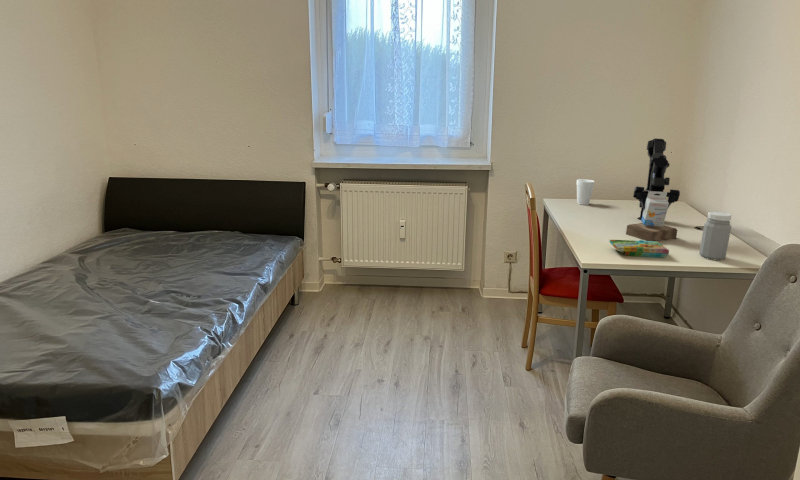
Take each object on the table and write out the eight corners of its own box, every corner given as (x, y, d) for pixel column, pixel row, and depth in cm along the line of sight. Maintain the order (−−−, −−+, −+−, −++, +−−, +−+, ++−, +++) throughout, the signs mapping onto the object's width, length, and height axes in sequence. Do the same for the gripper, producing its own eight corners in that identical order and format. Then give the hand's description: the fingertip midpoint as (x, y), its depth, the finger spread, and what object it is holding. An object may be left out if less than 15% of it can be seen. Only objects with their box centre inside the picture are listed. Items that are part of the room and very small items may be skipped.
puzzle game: (669, 248, 240) (617, 245, 241) (667, 259, 241) (616, 256, 242) (659, 240, 251) (609, 237, 252) (657, 250, 252) (608, 248, 253)
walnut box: (650, 231, 283) (651, 221, 282) (675, 239, 271) (677, 228, 270) (625, 235, 276) (627, 224, 275) (651, 243, 264) (652, 232, 263)
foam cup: (571, 203, 336) (574, 180, 333) (577, 201, 343) (580, 178, 340) (588, 206, 331) (591, 182, 327) (594, 203, 338) (596, 180, 335)
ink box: (643, 225, 270) (650, 195, 263) (640, 220, 275) (647, 190, 268) (663, 226, 270) (671, 196, 263) (660, 221, 274) (667, 191, 267)
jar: (696, 252, 251) (704, 209, 246) (722, 255, 248) (730, 212, 243) (700, 259, 242) (708, 215, 237) (727, 262, 239) (736, 217, 234)
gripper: (637, 168, 272) (634, 197, 265) (682, 172, 266) (681, 201, 259) (634, 182, 281) (631, 211, 274) (678, 186, 276) (676, 215, 269)
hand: (655, 209), depth 269 cm, fingers closed on ink box, 9 cm apart
